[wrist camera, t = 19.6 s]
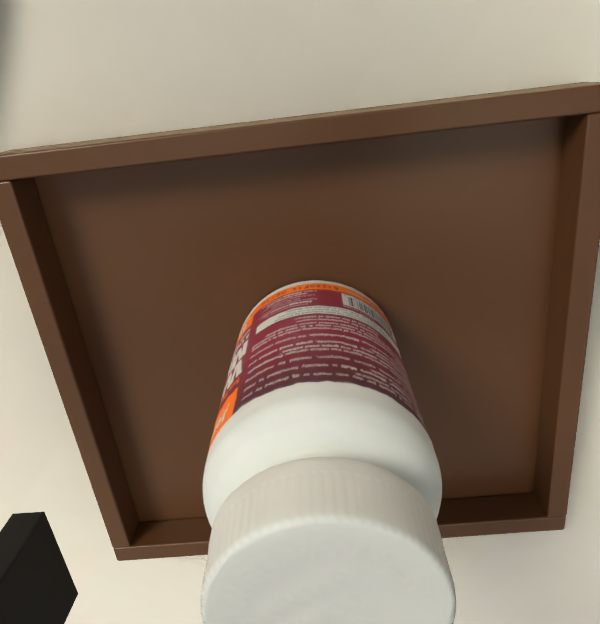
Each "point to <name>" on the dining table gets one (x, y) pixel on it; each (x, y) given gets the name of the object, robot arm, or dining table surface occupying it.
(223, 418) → the pill bottle
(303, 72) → the dining table surface
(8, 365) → the dining table surface
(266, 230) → the tray
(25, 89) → the dining table surface
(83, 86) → the dining table surface
